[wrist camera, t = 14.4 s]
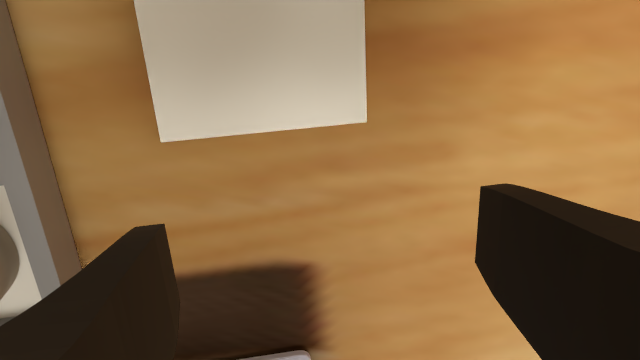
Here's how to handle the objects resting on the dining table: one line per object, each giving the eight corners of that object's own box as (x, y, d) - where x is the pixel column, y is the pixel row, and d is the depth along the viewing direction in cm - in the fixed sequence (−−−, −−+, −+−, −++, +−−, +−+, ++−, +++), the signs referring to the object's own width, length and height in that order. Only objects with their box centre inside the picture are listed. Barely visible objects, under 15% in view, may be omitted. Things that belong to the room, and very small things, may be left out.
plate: (364, 119, 20) (367, 122, 20) (162, 139, 19) (160, 142, 19) (359, -107, 17) (362, -109, 17) (117, -96, 16) (115, -97, 16)
